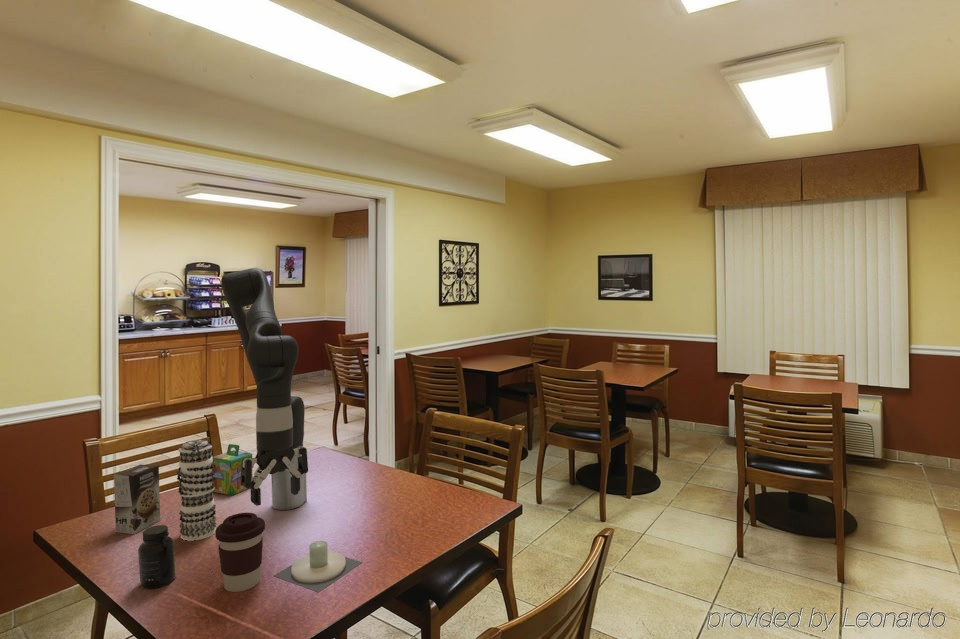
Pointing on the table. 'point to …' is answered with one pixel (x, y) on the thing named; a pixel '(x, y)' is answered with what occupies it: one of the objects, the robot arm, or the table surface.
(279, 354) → the robot arm
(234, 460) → the chalk box
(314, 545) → the lid
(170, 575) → the supplement bottle
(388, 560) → the table surface
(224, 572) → the coffee cup
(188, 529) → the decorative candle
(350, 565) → the mat
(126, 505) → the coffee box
